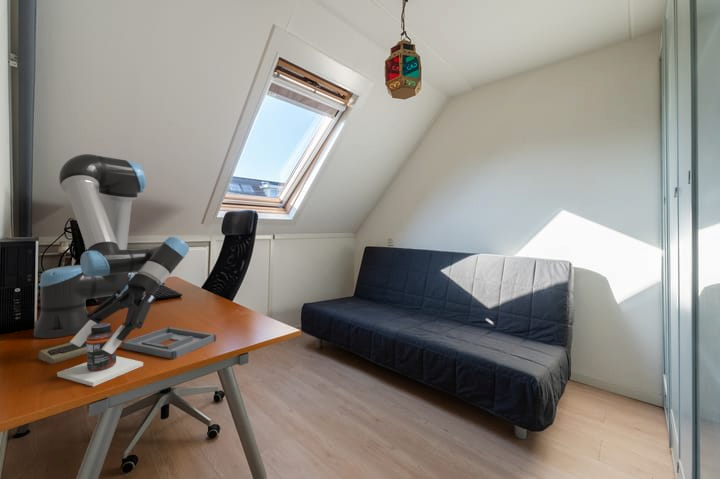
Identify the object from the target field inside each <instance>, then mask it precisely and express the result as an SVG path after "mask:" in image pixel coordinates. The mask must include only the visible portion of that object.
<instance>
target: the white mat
mask: <svg viewBox="0 0 720 479" xmlns="http://www.w3.org/2000/svg"><path fill="white" fill-rule="evenodd" d="M143 366H144V362H143V361H139V360H137V359H131V358H127V357H122V356H118V355H116V363H115V365H113V366H112V367H110V368H107V369H104V370H99V371H90V370H88V368H87V361H85V362H83V363H81V364H78V365H74V366H73V367H69V368H66V369H63V370H61V371H58V372H56V374H57V376H56V377H58V378H62V379H66V380H69V381H72V382H76V383H79V384H82V385H83V384H84V385H87V386H90V387H96V386H98V385H100V384H103V383H106V382H107V381H109V380H112V379H115V378H117V377H120V376H122V375H125V374H126V373H129V372H131V371H133V370H136V369H139V368H141V367H143Z"/></svg>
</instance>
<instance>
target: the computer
mask: <svg viewBox="0 0 720 479" xmlns="http://www.w3.org/2000/svg"><path fill="white" fill-rule="evenodd" d="M83 355H87V340H86V341H85V342H84V343H83V344H82V345H81V347H78V346H76V345H74V344H72V343H70V342H67V343H64V344H63V343H62V344H59V345H56V346H52V347H48V348H45V349H41V350H39V351H38V359H39V360H40V359H41V360H40V361H42V360H43V361H42V362H45V361H46V363H49V364H50V365H53V364H57V363H60V362H64V361H67V360H70V359H73V358H76V357H80V356H83Z"/></svg>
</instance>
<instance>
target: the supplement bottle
mask: <svg viewBox="0 0 720 479" xmlns="http://www.w3.org/2000/svg"><path fill="white" fill-rule="evenodd" d="M91 332H92V333H91V334H89V335H88V336H87V354H86V362H87V368H88V370H90V371H99V370H104V369H107V368H110V367H112V366H113V365H115V363H116V356H117V349H116V350H115V351H114V352H113V353H112V354H110V353H108V352H106V351H104V350H102V348H103V346H104V345H105V344H106V343H107V342H108V340H109V339H110V338H111V337H112V336H113V334H114V333H115V332H116V331H115V330H113V329H112V325H111V322H110V323H109V322H100V324H96V325H93V326H92V327H91Z"/></svg>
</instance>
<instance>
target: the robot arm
mask: <svg viewBox="0 0 720 479" xmlns="http://www.w3.org/2000/svg"><path fill="white" fill-rule="evenodd" d="M58 179H59V180H58V181H59V184H60V187H61V190H63V192H64V193H66V194H67V195H68V197H69V198H68V199H69V201H70V204H71V208H72V210H73V213H74V216H75V220H76V222H77V224H78V228H79V230H80V233H81V237H82V240H83V243H84V245H85V248H86V251H84V252H83V253H82V254H81V256H80V259H79V260H80V262H79V264H76V265H74V264H73V265H66V266H65V265H64V266H58V267H54V268H50V269H46V270H44V271H43V272H42V273H41V274H40V279H39V282H40V283H39V288H40V289H39V290H40V293H39V294H40V313H39V317H38V318H37V319H38V320H37V322H36V324H35V327H34V329H33V337H34V338H37V339H54V338H62V337H69V336H72V335H75V336H74V337H73V338H72V339H71V340H70V341H69V343H72V344H74V345H76V346H78V347H81V345H82V344H83V343H84V342H85V341H86V340H87V336H88V335H89V334H91V333H92V332H91V327H92V326H93V325H96V324H100V323H102V322H103V321H104V320H106V319H107V318H109V317H110V316H112V315H113V314H116V313H117V312H118V311H120V310H124V309H127V313H126V317H125V322H123V323H121V324H122V325H120V326H119V327H118V328H117V329H116V331H114V332H115V333H114V334H113V336H112V337H111V338H110V339H109V340H108V342H107V343H106V344H105V345H104V346H103V348H102V350H104V351H106V352H108V353H110V354H112V353H113V352H114V351H115V350H116V351H117V348H118V347H119V346H120V345H121V344H122V342H124V341H125V339H126V338H127V337H128V335H129V334H130V333H131V332H132V331H134V330H136V329H138V330H139V329H142V327H143V325H144V322H145V320H146V318H147V316H148V313H149V312H150V308H151V306H152V304H153V303H154V302H155V301H156V297H154V295H155V294H156V293H157V292H158V290H159V289H160V286H162V285H163V284H164V282H165V281H166V280H167V278H168V277H169V276H170V275H171V274H172V273H173V271H174V270H175V269H176V268H177V266H178V265H179V264H180V263H181V262H182V261H183V259H185V257H186V255H187V254H188V252H189V251H190V247H189V245H188V243H186V242H185V241H184V240H183V239H181V238H179V237H176V236H169V237H168V238H167V239H165V240H164V241H163V243H161V245H159V246H156V247H152V248H136V249H135V248H134V249H130V248H129V249H128V241H129V231H130V223H131V214H132V204H133V201H134V200H136V199H137V198H138V194H140V193H143V192H144V191H145V188H146V184H147V182H146V181H147V180H146V174H145V172H144V170H143V168H142V166H141V165H140V164H139V163H137V162H134V161H131V160H127V159H121V158H114V157H107V156H101V155H96V154H93V153H89V154H88V153H87V154H85V153H84V154H78V155H75V156H73V157H72V158H70V159H68V160H67V161H66V162H65V163H64V164H63V166H62V167H61V169H60V171H59V175H58ZM101 197H102V198H101ZM109 296H110V297H109ZM104 297H108V298H107V299H105V300H104V301H103V302H102V303H100V304H99V305H98V306H96V307H95V308H94V309H93V310H91V311H90V312H89V311H88V310H87V307H86V305H87V302H86V300H89V299H90V300H91V299H97V298H104Z"/></svg>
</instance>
